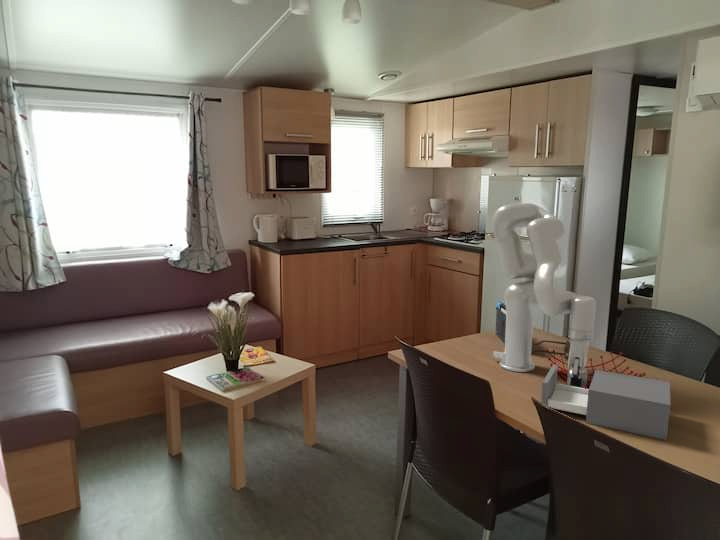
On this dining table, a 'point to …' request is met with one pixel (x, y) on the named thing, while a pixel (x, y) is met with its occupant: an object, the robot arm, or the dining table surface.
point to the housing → (629, 403)
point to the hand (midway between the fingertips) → (576, 384)
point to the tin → (583, 376)
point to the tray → (563, 394)
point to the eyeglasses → (566, 349)
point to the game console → (501, 321)
